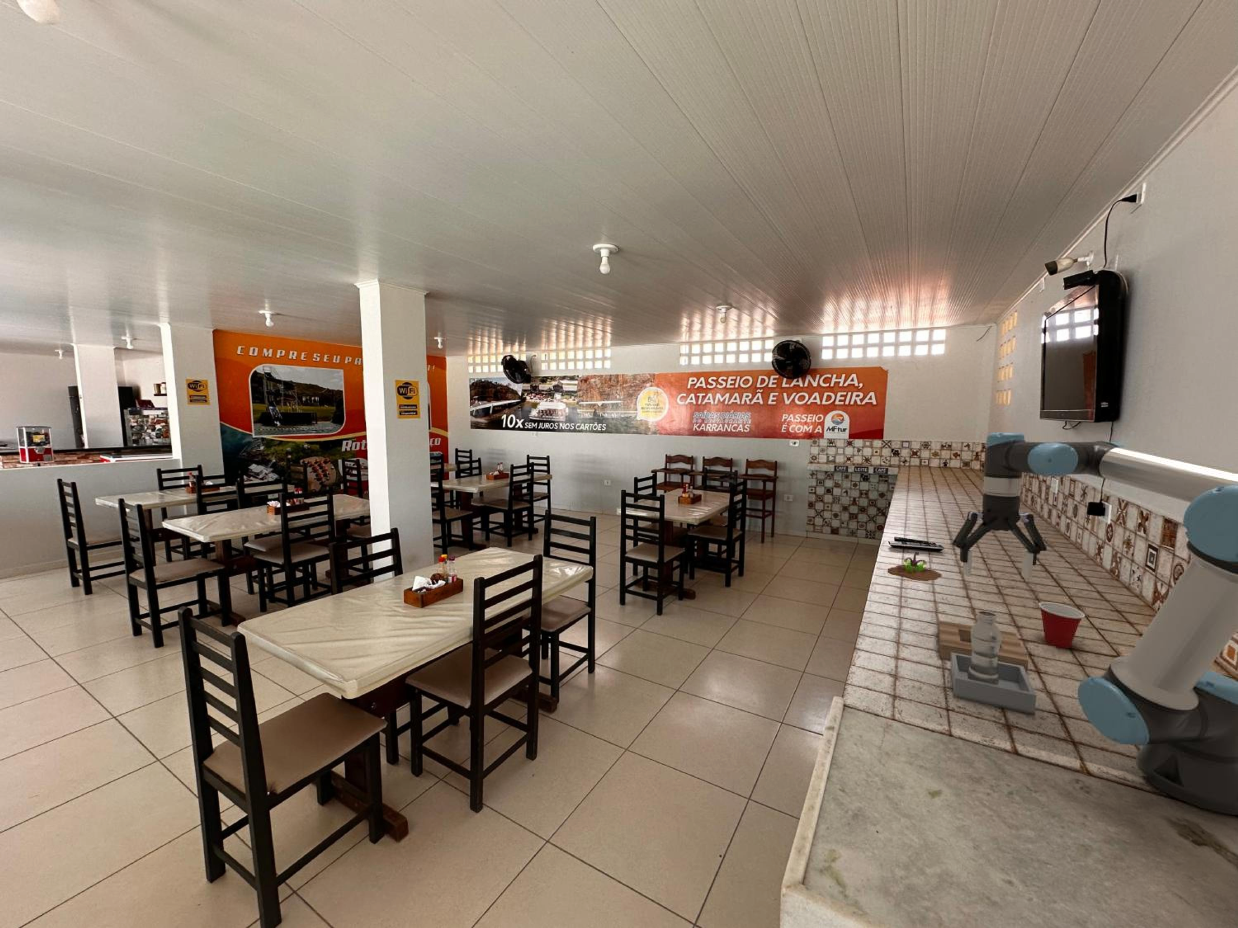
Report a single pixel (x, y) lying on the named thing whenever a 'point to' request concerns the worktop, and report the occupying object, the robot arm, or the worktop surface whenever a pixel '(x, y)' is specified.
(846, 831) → the worktop surface
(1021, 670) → the slate tray
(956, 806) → the worktop surface
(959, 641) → the walnut frame
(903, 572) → the plant
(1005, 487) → the robot arm
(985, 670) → the plastic bottle
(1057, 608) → the plastic cup
